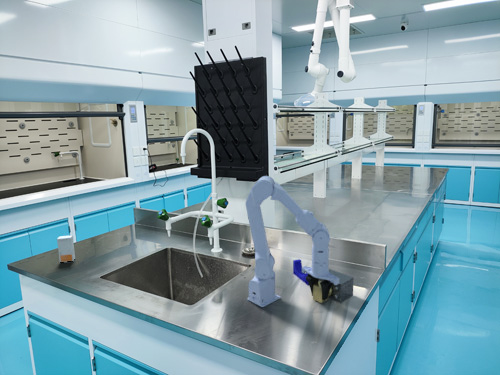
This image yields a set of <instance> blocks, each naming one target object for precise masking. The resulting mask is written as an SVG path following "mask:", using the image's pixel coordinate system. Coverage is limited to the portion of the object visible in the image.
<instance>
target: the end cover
mask: <svg viewBox="0 0 500 375" xmlns="http://www.w3.org/2000/svg"><path fill="white" fill-rule="evenodd" d="M320 282H321V281H319V282H317V283H315V284H313V296H312V300H314V301H315V302H318V303H319V304H323V303H325V302H327V301H328V300H329V296H330V295H331V294H332V287H331V289H330V291H329V294H328V298H327V299H326V300H322V289H321V285H320Z"/></svg>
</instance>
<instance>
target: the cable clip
mask: <svg viewBox="0 0 500 375" xmlns="http://www.w3.org/2000/svg"><path fill="white" fill-rule="evenodd" d="M302 267H303V265H302V260H301V259H300V258H299V259H293V261H292V274H293V275H294V276H295V277H296V278H298V279H299V280H301V282H302V283H304V284H306V285H307V286H309V284H308V282H307V280H306V276H308V274H307V273H302Z"/></svg>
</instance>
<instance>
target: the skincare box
mask: <svg viewBox="0 0 500 375" xmlns="http://www.w3.org/2000/svg"><path fill="white" fill-rule="evenodd" d="M56 242H57V251H58V259H59V263H60V262H64V263H68V262H67V261H73V262H75V260H76V255H75V254H76V253H75V246H74V235H73V234H72V235H62V236H58V237H57V239H56ZM74 259H75V260H74Z"/></svg>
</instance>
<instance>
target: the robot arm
mask: <svg viewBox="0 0 500 375" xmlns="http://www.w3.org/2000/svg"><path fill="white" fill-rule="evenodd" d="M268 198H270V200H272V201H279V202H280V203H281V204H282V205H283V206H284V207H285V208H286V209H287V210H288V211H289V212H290V213H291V214H293V216H294V217H295V223H296V224H297V225H298V226H299V228H301V229H302V230H303V231H304V232H305V233H306V234H307V235H308V236H310V237H311V241H312V247H311V266H306V265H305V266H302V273H305V274H306V273H307V274H308V276H306V280H307V282H308V284H309V285H308V286H309V289H310V292H311V296H312V297H313V284H315V283H317V282H318V280H319V278H320V279H324V281H322V282H320V285H321V289H322V300H326V299H327V298H328V294H329V291H330V289H331V287H332V285H333V283H334V285H338V284H339V279H340V278H338V277H336V276H334V275H333V274H331V273H330V272H329V270H328V269H329V262H330V259H329V257H330V249H329V243H330V241H331V238H330V233H329V230H328V228H327V226H326V225H324V223H323V222H320V221H319V220H318V219H317V218H316V217H315V216H314V215H315V214H314V213H313V211H312V210H311V211H309V209H302V208H301V207H300V206H299V205H298V203H297V202H296V201H295V200H294V198H292V197H291V196H290V194H289V193H288V192H287V191H286V190H285V188H283V187H282V186H281V184H280V183H278V182H277V181H275V179H274V178H272V177H271V176H268V175H263V176H261V177H260V178H258V180H257V181H256V182H255V183H254V185H253V186H252V187H251V188H250V191H249V193H248V196H247V198H246V200H245V209H246V212H247V214H246V215H247V217H248V224H249V228H250V234H251V238H252V243H253V248H254V257H255V258H254V261H255V262H254V263H255V267H254V277H253V278H252V279H250V280H249V282H248V297H247V298H246V299H247V301H249V302H252V303H253V304H255V305H257V306H259V307H261V308H264V307H267V306H268V305H270V304H272V303H274V302H276V301H278V300H280V299H281V295H279V294H276V272H275V270H274V266H275V263H276V262H275V261H276V260H275V256H273V254H272V252H271V249H270V247H269V243H268V239H267V234H266V233H267V232H266V228H265V223H264V219H263V214H262V208H261V205H262V204H263V203H264V201H265V200H267V199H268ZM326 301H327V300H326Z"/></svg>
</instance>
